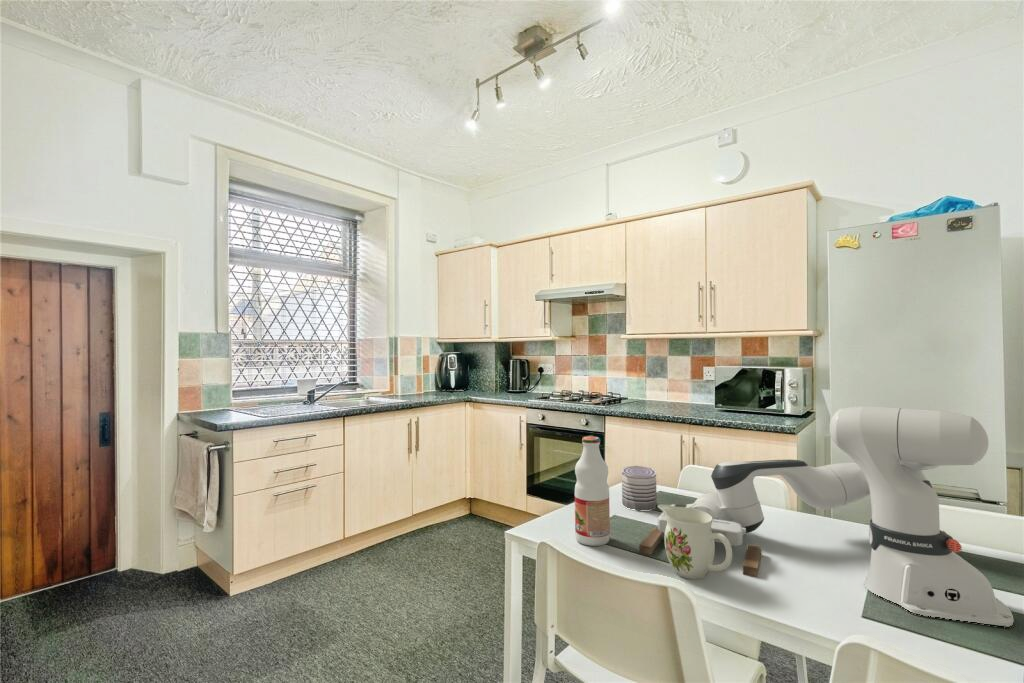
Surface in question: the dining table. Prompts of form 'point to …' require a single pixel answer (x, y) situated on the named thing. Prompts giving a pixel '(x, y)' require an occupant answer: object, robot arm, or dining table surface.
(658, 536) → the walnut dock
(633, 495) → the can
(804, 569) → the dining table surface
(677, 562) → the pitcher
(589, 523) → the fruit juice
